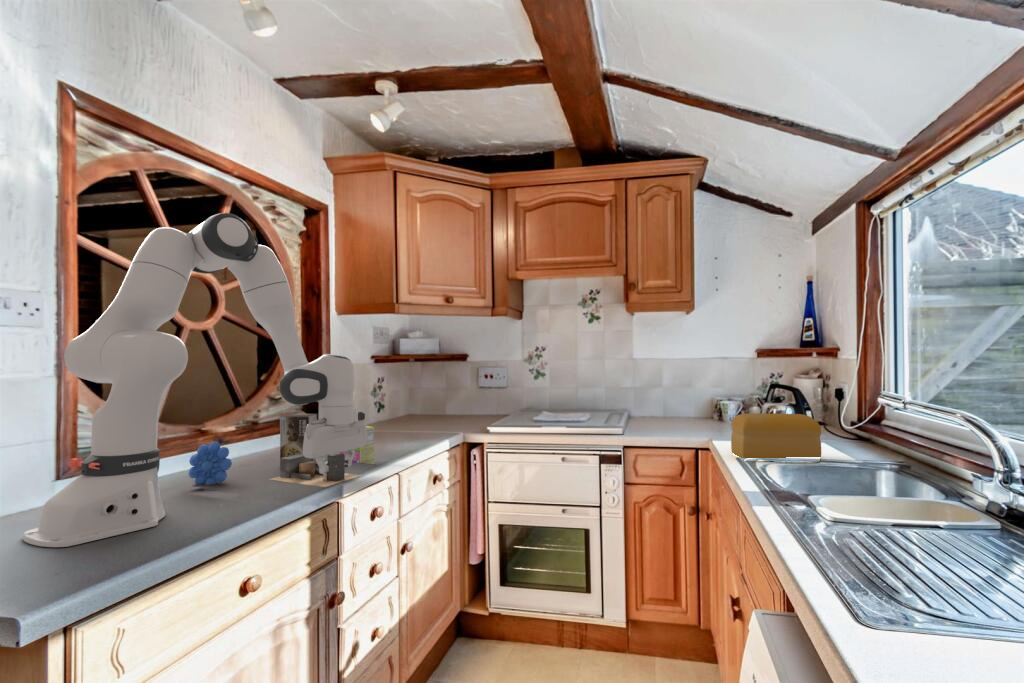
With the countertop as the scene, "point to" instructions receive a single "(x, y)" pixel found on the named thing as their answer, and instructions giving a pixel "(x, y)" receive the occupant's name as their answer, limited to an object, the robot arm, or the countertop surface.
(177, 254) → the robot arm
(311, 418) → the coffee box
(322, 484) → the bench
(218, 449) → the grapes
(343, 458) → the ram handle
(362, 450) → the box
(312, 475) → the nut puck
